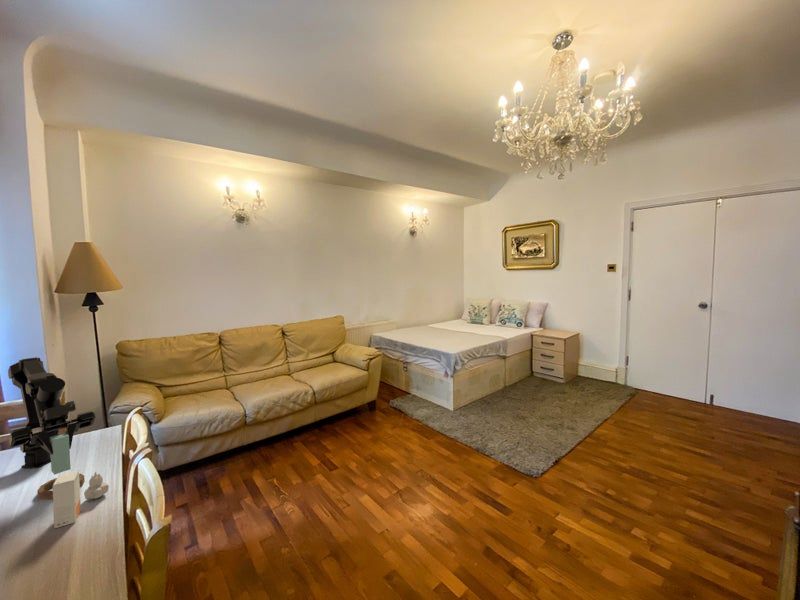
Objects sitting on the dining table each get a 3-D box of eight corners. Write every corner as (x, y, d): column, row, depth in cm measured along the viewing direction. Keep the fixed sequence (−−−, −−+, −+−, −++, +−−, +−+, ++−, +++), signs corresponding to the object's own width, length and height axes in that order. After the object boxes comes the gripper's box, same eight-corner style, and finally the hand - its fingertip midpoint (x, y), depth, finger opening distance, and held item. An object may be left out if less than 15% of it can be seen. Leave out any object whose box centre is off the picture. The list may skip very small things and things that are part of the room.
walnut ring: (61, 479, 109) (60, 474, 109) (92, 479, 109) (92, 473, 109) (28, 499, 99) (28, 493, 99) (62, 498, 99) (62, 492, 99)
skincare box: (76, 522, 89) (73, 480, 89) (54, 529, 87) (51, 485, 86) (81, 509, 94) (79, 469, 94) (60, 515, 92) (58, 474, 91)
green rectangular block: (51, 471, 103) (49, 437, 102) (67, 465, 106) (65, 432, 106) (54, 474, 101) (52, 440, 101) (70, 469, 104) (68, 435, 104)
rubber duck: (107, 489, 104) (106, 464, 103) (110, 498, 99) (109, 472, 99) (83, 497, 100) (82, 472, 99) (85, 507, 95) (84, 480, 95)
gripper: (8, 404, 97) (18, 451, 91) (92, 387, 112) (105, 426, 107) (5, 424, 101) (14, 470, 96) (86, 405, 117) (98, 443, 112)
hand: (61, 451), depth 103 cm, fingers closed on green rectangular block, 4 cm apart
